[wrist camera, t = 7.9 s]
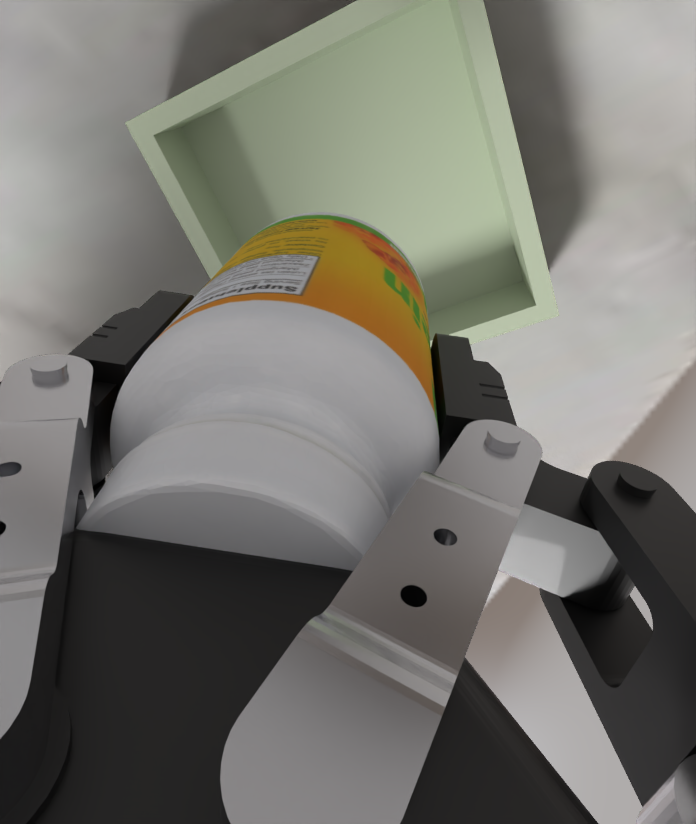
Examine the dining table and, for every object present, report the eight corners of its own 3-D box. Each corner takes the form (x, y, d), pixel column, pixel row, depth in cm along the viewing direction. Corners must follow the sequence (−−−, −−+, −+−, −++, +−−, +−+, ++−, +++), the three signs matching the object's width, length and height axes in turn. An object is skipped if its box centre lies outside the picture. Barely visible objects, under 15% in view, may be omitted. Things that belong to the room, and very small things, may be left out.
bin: (540, 284, 27) (559, 315, 24) (293, 369, 31) (280, 406, 28) (459, -39, 21) (468, -59, 18) (162, 115, 25) (124, 122, 22)
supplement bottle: (446, 377, 16) (494, 723, 7) (268, 416, 17) (137, 752, 9) (398, 178, 13) (386, 367, 5) (192, 241, 14) (-102, 481, 6)
